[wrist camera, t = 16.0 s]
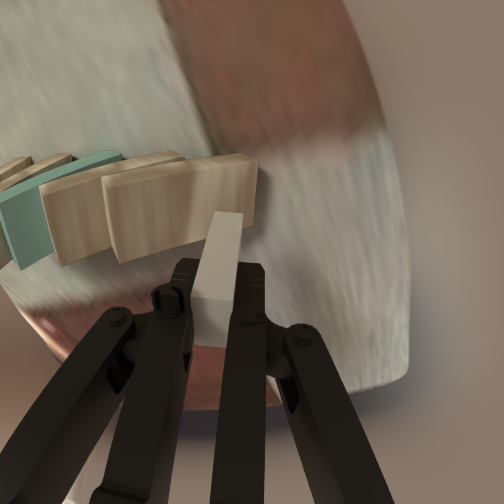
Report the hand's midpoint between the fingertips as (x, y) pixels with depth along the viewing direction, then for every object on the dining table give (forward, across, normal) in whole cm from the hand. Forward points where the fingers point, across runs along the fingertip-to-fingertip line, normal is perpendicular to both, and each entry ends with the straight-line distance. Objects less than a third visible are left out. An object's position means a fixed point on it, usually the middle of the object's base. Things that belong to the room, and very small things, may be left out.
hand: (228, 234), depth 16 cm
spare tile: (+7, -10, 0) cm, 12 cm away
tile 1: (+7, +1, 0) cm, 7 cm away
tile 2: (+7, -4, 0) cm, 8 cm away
